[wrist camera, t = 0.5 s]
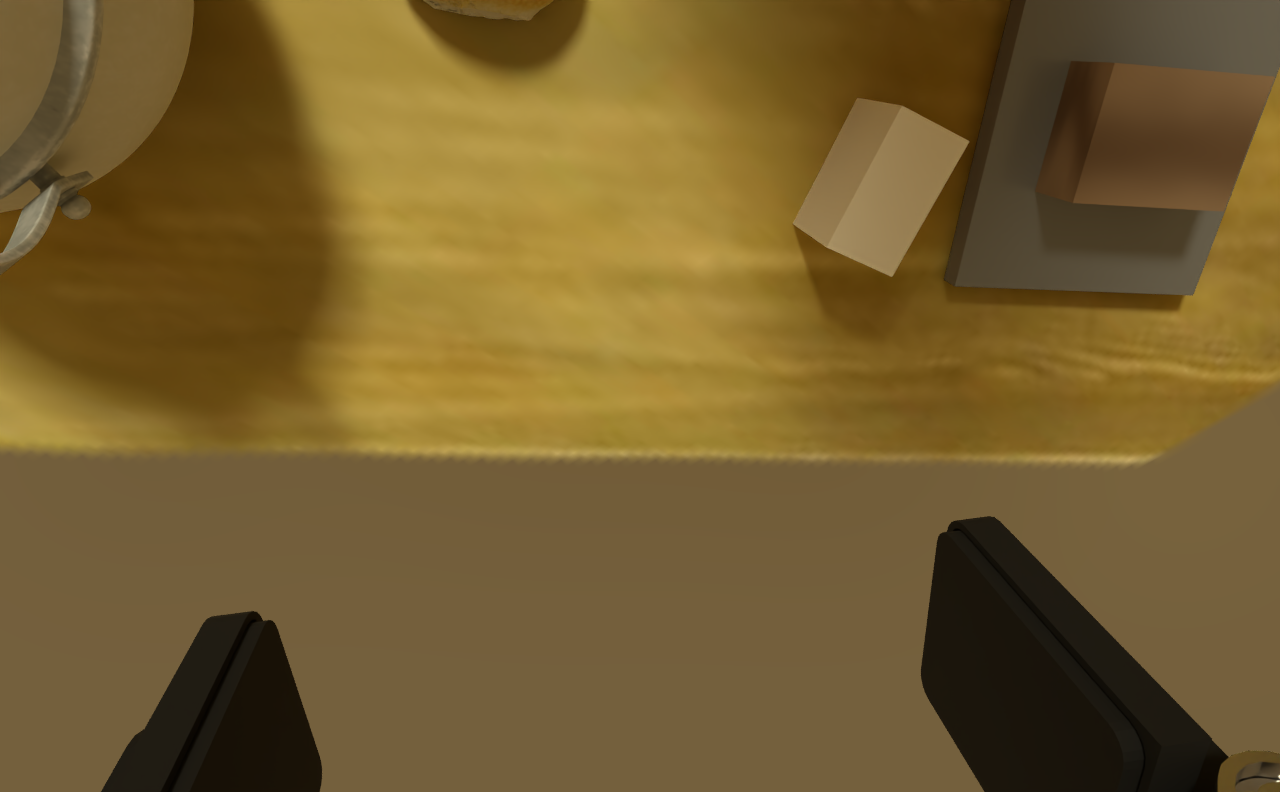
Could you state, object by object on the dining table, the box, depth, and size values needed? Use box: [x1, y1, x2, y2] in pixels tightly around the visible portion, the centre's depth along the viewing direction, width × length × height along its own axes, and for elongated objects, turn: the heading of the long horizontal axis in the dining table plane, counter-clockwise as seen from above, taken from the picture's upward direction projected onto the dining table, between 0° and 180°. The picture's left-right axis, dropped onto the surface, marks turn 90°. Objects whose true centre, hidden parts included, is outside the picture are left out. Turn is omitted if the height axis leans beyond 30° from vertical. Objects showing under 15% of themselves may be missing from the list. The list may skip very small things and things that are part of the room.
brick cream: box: [793, 98, 970, 277], centre depth 36 cm, size 6×4×5 cm, turn 156°
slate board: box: [944, 0, 1280, 295], centre depth 39 cm, size 16×14×1 cm
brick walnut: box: [1035, 61, 1275, 212], centre depth 37 cm, size 6×8×3 cm
